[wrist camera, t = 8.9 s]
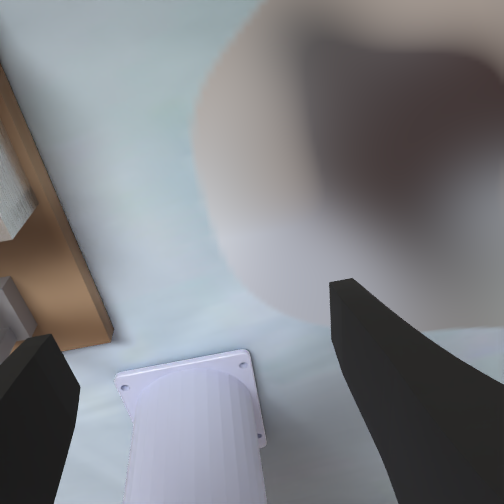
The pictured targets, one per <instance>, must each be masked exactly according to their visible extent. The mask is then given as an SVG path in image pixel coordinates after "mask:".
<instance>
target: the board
mask: <svg viewBox="0 0 504 504" xmlns="http://www.w3.org/2000/svg"><path fill="white" fill-rule="evenodd" d="M0 119H1V121H2V124H3V126H4V128H5V130H6V132H7V135H8V137H9V139H10V141H11V143H12V145H13V148H14V150H15V152H16V154H17V156H18V159H19V161H20V163H21V165H22V167H23V169H24V172H25V174H26V176H27V178H28V180H29V183H30V185H31V187H32V189H33V191H34V193H35V196H36V198H37V200H38V202H39V205H38V206H37V207H36V209H35V210H34V211H33V213H32V214H31V215H30V217H29V218H28V219H27V221H26V222H25V223H24V225H23V226H22V227H21V229H20V230H19V231H18V233H17V234H16V235H15V237H14V238H13V240H7V241H2V242H0V277H6V276H11V278H12V280H13V281H14V283H15V285H16V287H17V289H18V290H19V292H20V294H21V296H22V298H23V299H24V301H25V303H26V305H27V306H28V308H29V310H30V312H31V314H32V315H33V317H34V319H35V321H36V323H37V324H38V325H37V327H36V329H35V331H34V333H33V335H32V337H35V336H41V335H46V334H52V335H53V337H54V339H55V341H56V343H57V345H58V346H59V348H60V350H61V351H66V350H72V349H77V348H83V347H88V346H93V345H99V344H104V343H110V342H111V340H112V335H113V331H114V328H113V326H112V323H111V321H110V319H109V316H108V314H107V312H106V309H105V307H104V305H103V302H102V300H101V298H100V295H99V293H98V291H97V288H96V286H95V284H94V281H93V279H92V277H91V274H90V272H89V270H88V267H87V265H86V263H85V260H84V258H83V255H82V253H81V251H80V248H79V246H78V244H77V241H76V239H75V237H74V234H73V232H72V230H71V227H70V225H69V223H68V220H67V218H66V216H65V213H64V211H63V209H62V206H61V204H60V202H59V199H58V197H57V195H56V192H55V190H54V188H53V185H52V183H51V181H50V178H49V176H48V173H47V171H46V169H45V166H44V164H43V162H42V159H41V157H40V155H39V152H38V150H37V148H36V145H35V143H34V141H33V138H32V136H31V134H30V131H29V129H28V127H27V124H26V122H25V120H24V117H23V115H22V113H21V110H20V108H19V106H18V103H17V101H16V99H15V96H14V94H13V91H12V89H11V87H10V84H9V82H8V80H7V77H6V75H5V73H4V70H3V68H2V66H1V63H0ZM24 341H25V340H21V341H16V343H15V345H14V347H13V349H12V351H11V353H12V352H13V351H14V350H15V349H16V348H17V347H18V346H19V345H20V344H21V343H23V342H24ZM11 353H10V354H11Z"/></svg>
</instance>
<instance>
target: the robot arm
mask: <svg viewBox="0 0 504 504" xmlns="http://www.w3.org/2000/svg"><path fill="white" fill-rule="evenodd" d="M329 288H330V313H331V340H332V343H333V346H334V349H335V352H336V355H337V358H338V361H339V364H340V367H341V370H342V373H343V376H344V378H345V380H346V382H347V384H348V387H349V389H350V391H351V393H352V395H353V397H354V400H355V402H356V404H357V406H358V408H359V410H360V412H361V415H362V417H363V419H364V421H365V423H366V425H367V427H368V430H369V432H370V434H371V436H372V438H373V440H374V442H375V445H376V447H377V449H378V451H379V453H380V456H381V458H382V460H383V463H384V465H385V468H386V470H387V473H388V475H389V478H390V481H391V484H392V486H393V489H394V492H395V495H396V498H397V500H398V503H399V504H504V385H503V384H502V383H500V382H498V381H496V380H494V379H492V378H491V377H489V376H487V375H485V374H484V373H482V372H480V371H479V370H477V369H475V368H473V367H472V366H470V365H468V364H467V363H465V362H463V361H462V360H460V359H458V358H457V357H455V356H454V355H452V354H451V353H449V352H448V351H446V350H445V349H443V348H442V347H440V346H439V345H437V344H436V343H434V342H433V341H431V340H430V339H429V338H427V337H426V336H424V335H423V334H422V333H420V332H419V331H418V330H416V329H415V328H413V327H412V326H411V325H410V324H408V323H407V322H406V321H404V320H403V319H402V318H400V317H399V316H398V315H397V314H395V313H394V312H393V311H392V310H390V309H389V308H388V307H386V306H385V305H384V304H383V303H382V302H380V301H379V300H378V299H377V298H376V297H374V296H373V295H372V294H371V293H370V292H369V291H367V290H366V289H365V288H364V287H363V286H361V285H360V284H359V283H358V282H357V281H355V280H354V279H353V278H350V279H345V280H340V281H334V282H330V283H329ZM243 362H245V363H244V364H241V363H243ZM114 384H115V386H116V388H117V390H118V393H119V395H120V397H121V399H122V401H123V403H124V405H125V407H126V409H127V412H128V414H129V416H130V418H131V420H132V422H133V432H132V439H131V446H130V453H129V461H128V468H127V475H126V482H125V490H124V497H123V504H268V503H267V497H266V490H265V483H264V476H263V470H262V463H261V456H260V450H259V449H260V448H263V447H265V446H266V445H267V440H266V435H265V429H264V424H263V419H262V414H261V409H260V403H259V398H258V393H257V388H256V383H255V377H254V372H253V367H252V362H251V356H250V353H249V351H247V350H245V349H239V350H234V351H229V352H224V353H218V354H213V355H208V356H202V357H197V358H192V359H186V360H181V361H176V362H170V363H165V364H160V365H154V366H149V367H144V368H139V369H133V370H128V371H123V372H119V373H117V374H116V375H115V377H114ZM125 385H128V386H125ZM79 395H80V385H79V383H78V381H77V380H76V378H75V376H74V374H73V372H72V370H71V369H70V367H69V365H68V363H67V361H66V359H65V357H64V356H63V354H62V352H61V350H60V348H59V346H58V345H57V343H56V341H55V339H54V337H53V335H52V334H46V335H41V336H35V337H30V338H27V339H26V340H25V341H24V342H23V343H21V344H20V345H19V346H18V347H17V348H16V349H15V350H14V351H13V352H12V353H11V354H10V355H9V356H8V357H7V358H6V359H5V360H4V361H3V362H2V364H1V365H0V504H54V500H55V497H56V493H57V490H58V486H59V483H60V479H61V476H62V472H63V468H64V465H65V461H66V458H67V454H68V450H69V447H70V443H71V439H72V436H73V432H74V428H75V423H76V417H77V411H78V403H79Z"/></svg>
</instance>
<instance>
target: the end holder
mask: <svg viewBox="0 0 504 504" xmlns="http://www.w3.org/2000/svg"><path fill="white" fill-rule="evenodd" d="M38 205H39V202H38V200H37V198H36V196H35V193H34V191H33V189H32V187H31V185H30V183H29V180H28V178H27V176H26V174H25V172H24V169H23V167H22V165H21V163H20V161H19V159H18V156H17V154H16V152H15V150H14V148H13V145H12V143H11V141H10V139H9V137H8V135H7V132H6V130H5V128H4V126H3V124H2V121H1V119H0V242H2V241H7V240H13V238H14V237H15V235H16V234H17V233H18V231H19V230H20V229H21V227H22V226H23V225H24V223H25V222H26V221H27V219H28V218H29V217H30V215H31V214H32V213H33V211H34V210H35V209H36V207H37V206H38Z"/></svg>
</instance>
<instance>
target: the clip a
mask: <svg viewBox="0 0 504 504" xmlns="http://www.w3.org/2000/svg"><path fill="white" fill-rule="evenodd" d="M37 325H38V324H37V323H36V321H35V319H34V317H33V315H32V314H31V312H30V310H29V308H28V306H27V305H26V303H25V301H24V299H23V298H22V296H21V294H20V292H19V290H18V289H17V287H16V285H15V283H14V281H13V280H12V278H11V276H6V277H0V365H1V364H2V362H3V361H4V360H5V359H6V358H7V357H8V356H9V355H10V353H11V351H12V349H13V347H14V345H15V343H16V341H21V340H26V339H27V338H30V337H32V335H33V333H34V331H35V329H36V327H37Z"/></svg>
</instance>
